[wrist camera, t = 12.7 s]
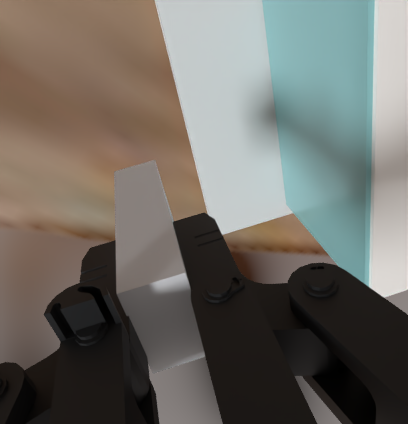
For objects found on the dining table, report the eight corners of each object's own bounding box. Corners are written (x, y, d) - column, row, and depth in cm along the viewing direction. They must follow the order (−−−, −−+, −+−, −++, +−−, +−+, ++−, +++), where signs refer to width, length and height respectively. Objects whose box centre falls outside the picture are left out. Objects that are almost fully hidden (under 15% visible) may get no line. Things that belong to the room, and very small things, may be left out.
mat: (144, -40, 17) (145, -42, 16) (547, -141, 18) (560, -145, 18) (212, 232, 24) (214, 237, 24) (490, 147, 26) (498, 149, 25)
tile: (259, -9, 18) (372, -15, 10) (307, -22, 18) (454, -37, 10) (285, 205, 24) (367, 303, 16) (320, 194, 24) (418, 286, 16)
